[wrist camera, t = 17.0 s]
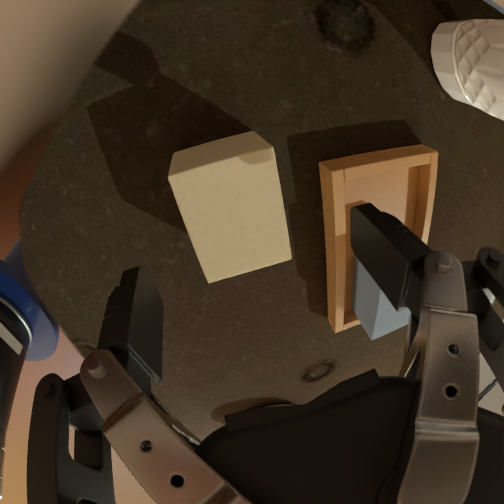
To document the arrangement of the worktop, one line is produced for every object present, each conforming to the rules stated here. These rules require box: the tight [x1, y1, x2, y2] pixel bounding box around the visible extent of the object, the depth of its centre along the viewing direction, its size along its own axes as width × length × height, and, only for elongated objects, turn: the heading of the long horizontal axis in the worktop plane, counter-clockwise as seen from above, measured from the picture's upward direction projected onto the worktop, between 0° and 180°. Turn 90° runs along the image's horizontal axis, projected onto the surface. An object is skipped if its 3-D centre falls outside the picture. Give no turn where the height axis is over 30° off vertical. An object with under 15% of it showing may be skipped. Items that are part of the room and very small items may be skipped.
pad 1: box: [168, 131, 292, 283], centre depth 14 cm, size 4×6×4 cm
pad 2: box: [351, 254, 410, 340], centre depth 20 cm, size 4×6×4 cm
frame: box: [319, 144, 438, 333], centre depth 20 cm, size 9×15×2 cm, turn 11°
